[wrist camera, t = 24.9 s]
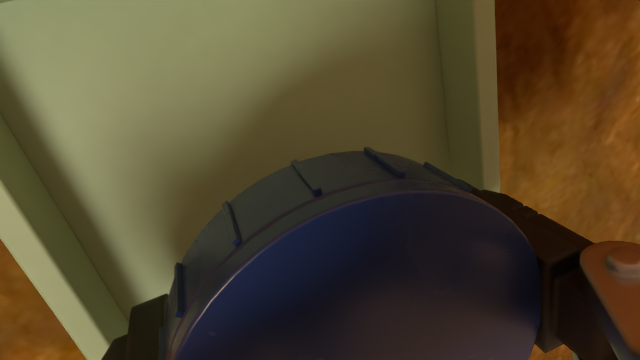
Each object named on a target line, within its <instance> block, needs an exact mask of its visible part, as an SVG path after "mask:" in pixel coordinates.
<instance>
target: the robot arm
mask: <svg viewBox="0 0 640 360" xmlns="http://www.w3.org/2000/svg"><path fill="white" fill-rule="evenodd" d="M458 180H459V181H461V182H463V183H465V184H466V185H468V186H470V187H472V188H473V189H472V191H471V192H470V193H472V194H474V195H475V196H477V197H479V198H480V199H482V200H484V201H485V202H487V203H489V204H490V205H492V206H494V207H495V208H497V209H498V210H500V211H501V212H502V213H503V214H505V215H506V216H507V217H509V218H510V219H511V220H512V221H513V222H514V223H515V224H516V225H517V226H518V228H519V229H520V230H521V231H522V232H523V233H524V235H525V236H526V238H527V240H528V242H529V243H530V245H531V247H532V249H533V250H534V253H535V256H536V258H537V261H538V264H539V267H540V273H541V317H540V326H539V330H538V334H537V338H536V341H535V344H536V345H537V346H538V347H539V348H540V349H541V350H542V351H543V352H545V353H547V352H549V351H551V350H553V349H554V348H556V347H558V346H560V345H562V344H565V345H566V346H567V347H569V348H570V349H571V350H572V351H573V356H572V360H640V244H636V243H631V242H624V241H605V242H599V243H593V242H591V241H589V240H587V239H585V238H584V237H582V236H580V235H578V234H576V233H575V232H573V231H571V230H569V229H567V228H566V227H564V226H562V225H560V224H558V223H557V222H555V221H553V220H551V219H549V218H547V217H546V216H544V215H542V214H538V213H537V211H535V210H533V209H531V208H529V207H528V206H525V207H524V206H523V204H522V203H520V202H518V201H517V200H515V199H513V198H511V197H509V196H508V195H506V194H502V193H498V192H494V191H490V190H486V189H483V190H481V191H480V190H479V189H477V188H475V187H473V186H472V185H470V184H468V183H467V182H465V181H463V180H461V179H458ZM168 296H169V295H168V294H167V293H166V294H163V295H161V296H158V297H156V298H153V299H151V300H148V301H146V302H143V303H141V304H138V305H136V306H133V307H132V309H131V312H130V319H129V327H128V334H126V335H123V336H121V337H118V338H116V339H114V340H113V341H112V343H111V345H110V346H109V348H108V350H107V351H106V353H105V354H104V356H103V358H102V359H101V360H158V353H159V330H160V328H163V327H165V314H166V308H167V301H168Z"/></svg>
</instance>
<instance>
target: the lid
mask: <svg viewBox="0 0 640 360" xmlns="http://www.w3.org/2000/svg"><path fill="white" fill-rule="evenodd" d="M291 164H292V165H290V166H287V167H284V168H282V169H280V170H278V171H276V172H274V173H272V174H270V175H268V176H267V177H265V178H263V179H261V180H259V181H257V182H256V183H255V184H253V185H252V186H250V187H249V188H247V189H246V190H244V191H243V192H241V193H240V194H239V195H237V196H236V197H235V198H234V199H233V200H231V201H230V202H229V203H228V202H227V201H225V202H224V203H223V204H222V209H221V210H220V211H219V212H218V213H217V214H216V215H215V216H214V217H213V218H212V220H211V221H210V222H209V223H208V224H207V225H206V226H205V227H204V229H203V230H202V231H201V232H200V233H199V235H198V236H197V238H196V239H195V241H194V242H193V244H192V245H191V247H190V248H189V249H188V251H187V252H186V254H185V256H184V258H183V260H182V262H181V263H179V262H177V263H176V264H175V267H174V280H173V283H172V286H171V290H170V293H169V296H168V301H167V308H166V314H165V327H163V328H160V330H159V353H158V360H528V359H529V357H530V354H531V352H532V349H533V346H534V344H535V341H536V338H537V334H538V330H539V326H540V317H541V273H540V267H539V264H538V261H537V258H536V256H535V253H534V250H533V249H532V247H531V245H530V243H529V242H528V240H527V238H526V236H525V235H524V233H523V232H522V231H521V230H520V229H519V228H518V226H517V225H516V224H515V223H514V222H513V221H512V220H511V219H510V218H509V217H507V216H506V215H505V214H503V213H502V212H501V211H500V210H498V209H497V208H495V207H494V206H492V205H490V204H489V203H487V202H485V201H484V200H482V199H480V198H479V197H477V196H475V195H474V194H472V193H470V192H471V191H472V189H473V188H472V187H470V186H468V185H466V184H465V183H463V182H461V181H459V180H458V179H456V178H454V177H453V176H451V175H449V174H447V173H446V172H444V171H442V170H440V169H439V168H437V167H435V166H433V165H432V164H430V163H428V162H426V161H425V163H424V165H422V164H420V163H418V162H416V161H414V160H411V159H408V158H405V157H402V156H399V155H395V154H389V153H383V152H377V151H374V150H373V149H371V148H370V147H364V151H347V152H338V153H330V154H326V155H321V156H317V157H313V158H309V159H305V160H303V161H300V162H298V161H297V159H296V160H293V161H291Z"/></svg>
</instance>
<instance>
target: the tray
mask: <svg viewBox="0 0 640 360" xmlns="http://www.w3.org/2000/svg"><path fill="white" fill-rule="evenodd" d="M364 147H370V148H371V149H373V150H374V151H377V152H383V153H389V154H395V155H399V156H402V157H405V158H408V159H411V160H414V161H416V162H418V163H420V164H422V165H424V163H425V161H426V162H428V163H430V164H432V165H433V166H435V167H437V168H439V169H440V170H442V171H444V172H446V173H447V174H449V175H451V176H453V177H454V178H456V179H461V180H463V181H465V182H467V183H468V184H470V185H472V186H473V187H475V188H477V189H479V190H480V191H481V190H483V189H486V190H490V191H494V192H498V193H500V161H499V129H498V97H497V64H496V32H495V0H0V239H1V240H2V242H3V243H4V244H5V246H6V247H7V249H8V250H9V251H10V253H11V254H12V256H13V257H14V258H15V260H16V261H17V263H18V264H19V265H20V267H21V268H22V269H23V271H24V272H25V274H26V275H27V276H28V278H29V279H30V281H31V282H32V283H33V285H34V286H35V288H36V289H37V290H38V292H39V293H40V295H41V296H42V297H43V299H44V300H45V302H46V303H47V304H48V306H49V307H50V309H51V310H52V311H53V313H54V314H55V316H56V317H57V318H58V320H59V321H60V322H61V324H62V325H63V327H64V328H65V329H66V331H67V332H68V334H69V335H70V336H71V338H72V339H73V341H74V342H75V343H76V345H77V346H78V348H79V349H80V350H81V352H82V353H83V355H84V356H85V357H86V359H87V360H101V359H102V358H103V356H104V354H105V353H106V351H107V350H108V348H109V346H110V345H111V343H112V341H113V340H114V339H116V338H118V337H121V336H123V335H126V334H128V327H129V319H130V312H131V309H132V307H133V306H136V305H138V304H141V303H143V302H146V301H148V300H151V299H153V298H156V297H158V296H161V295H163V294H166V293H167V294H168V295H169V293H170V290H171V286H172V283H173V280H174V267H175V264H176V263H177V262H179V263H181V262H182V260H183V258H184V256H185V254H186V252H187V251H188V249H189V248H190V247H191V245H192V244H193V242H194V241H195V239H196V238H197V236H198V235H199V233H200V232H201V231H202V230H203V229H204V227H205V226H206V225H207V224H208V223H209V222H210V221H211V220H212V218H213V217H214V216H215V215H216V214H217V213H218V212H219V211H220V210H221V209H222V204H223V203H224V202H225V201H227V202H228V203H229V202H230V201H231V200H233V199H234V198H235V197H236V196H237V195H239V194H240V193H241V192H243V191H244V190H246V189H247V188H249V187H250V186H252V185H253V184H255V183H256V182H257V181H259V180H261V179H263V178H265V177H267V176H268V175H270V174H272V173H274V172H276V171H278V170H280V169H282V168H284V167H287V166H290V165H292V164H291V161H293V160H296V159H297V161H298V162H300V161H303V160H305V159H309V158H313V157H317V156H321V155H326V154H330V153H338V152H347V151H364Z"/></svg>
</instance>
